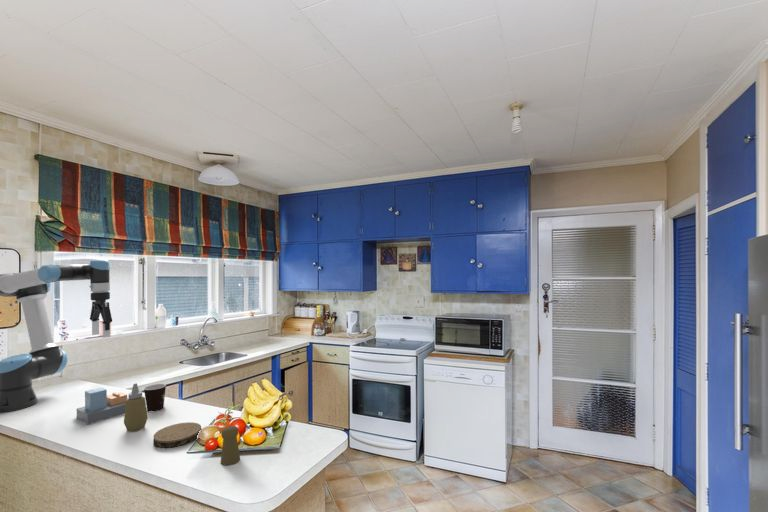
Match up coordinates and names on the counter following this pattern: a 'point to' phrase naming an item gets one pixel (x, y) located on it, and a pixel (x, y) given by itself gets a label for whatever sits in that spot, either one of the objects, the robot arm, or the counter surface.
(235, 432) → the pepper mill
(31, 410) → the counter surface
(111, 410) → the socket plate
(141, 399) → the squeeze bottle
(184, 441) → the brown round disc
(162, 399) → the coffee mug
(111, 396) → the orange ridged block
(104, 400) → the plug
